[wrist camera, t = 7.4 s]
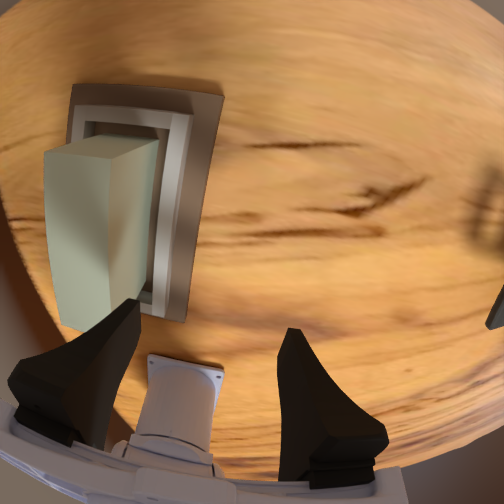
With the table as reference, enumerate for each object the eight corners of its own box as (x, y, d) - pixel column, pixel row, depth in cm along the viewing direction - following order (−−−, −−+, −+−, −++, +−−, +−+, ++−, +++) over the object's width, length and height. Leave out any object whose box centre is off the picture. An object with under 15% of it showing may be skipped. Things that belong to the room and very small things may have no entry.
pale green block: (145, 280, 23) (114, 341, 16) (101, 269, 22) (61, 324, 16) (159, 139, 18) (111, 159, 11) (106, 133, 17) (44, 151, 11)
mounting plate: (186, 315, 25) (180, 335, 23) (76, 287, 24) (64, 303, 22) (224, 96, 17) (220, 94, 15) (79, 84, 16) (61, 83, 14)
